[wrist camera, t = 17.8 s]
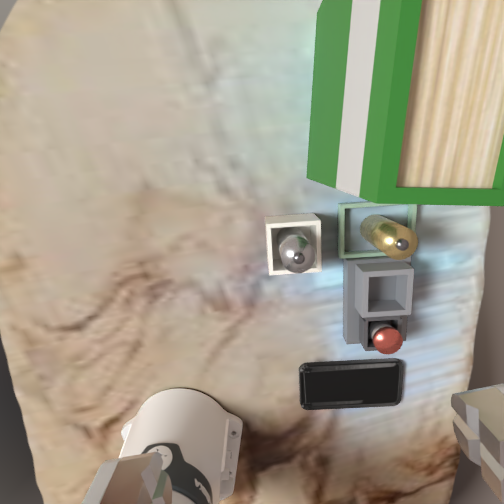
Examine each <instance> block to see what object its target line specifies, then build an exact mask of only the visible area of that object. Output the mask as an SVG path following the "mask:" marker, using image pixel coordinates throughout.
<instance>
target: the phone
mask: <svg viewBox="0 0 504 504" xmlns="http://www.w3.org/2000/svg"><path fill="white" fill-rule="evenodd" d="M402 381H403V364H402V363H401V362H400V360H399V359H396V358H388V359H369V360H349V361H330V362H311V363H304V364H302V365H301V366H300V368H299V384H300V404H301V407H302V408H303V409H305V410H319V409H340V408H361V407H383V406H395V405H398V404H399V403H400V401H401V394H402Z"/></svg>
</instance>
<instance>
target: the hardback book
mask: <svg viewBox="0 0 504 504" xmlns="http://www.w3.org/2000/svg"><path fill="white" fill-rule="evenodd" d="M307 178H308V179H311V180H313V181H316V182H319V183H322V184H324V185H327V186H330V187H333V188H335V189H338V190H341V191H343V192H346V193H349V194H352V195H354V196H357V197H360V198H362V199H365V200H368V201H371V202H373V203H376V204H421V205H471V206H504V0H323V1H322V3H321V5H320V8H319V10H318V12H317V23H316V39H315V55H314V70H313V86H312V101H311V117H310V133H309V148H308V164H307Z"/></svg>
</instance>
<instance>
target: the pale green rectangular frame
mask: <svg viewBox="0 0 504 504" xmlns="http://www.w3.org/2000/svg"><path fill="white" fill-rule="evenodd" d="M386 205H400V204H376V203H373V202H371V201H365V202H352V203H338V257H339V258H340V259H345V258H359V257H374V256H387V255H386V254H384V253H383V252H382V251H380V250H367V251H353V252H344V220H345V208H358V207H372V206H386ZM416 213H417V204H408V221H407V228H409V229H411V230H413V231H414V232H415V228H416ZM413 254H414V253H413Z"/></svg>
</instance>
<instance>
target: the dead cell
mask: <svg viewBox="0 0 504 504" xmlns="http://www.w3.org/2000/svg"><path fill="white" fill-rule="evenodd" d="M276 241H277V245H278V249H279V253H280V257H281V260H282V263H283V265H284V267H285V268H286V269H287V270H288V271H290V272H293V273H303V272H305V271H307V270H309V269H310V268H311V267H312V265H313V264H314V261H315V251H314V249H313V247H312V246H311V244H310V243H309V241H308V240H307V238H306V237H305V235H304V234H303V232H302V231H301V230H300V229H299V228H298V227H296V226H294V227H283V228H282V229H281V230H280V231H279V232H278V234H277V238H276Z"/></svg>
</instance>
